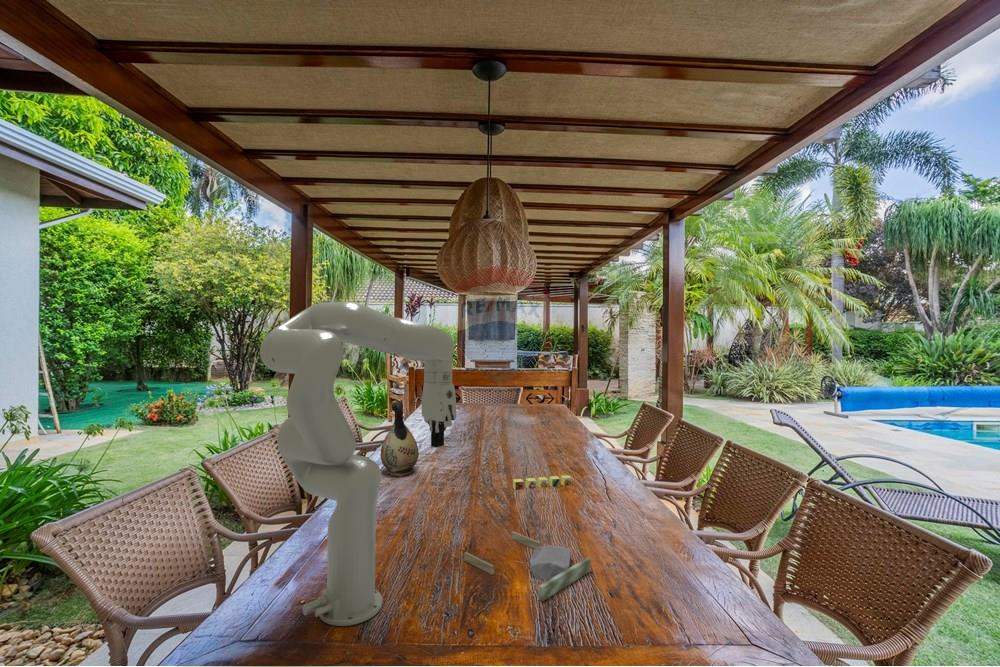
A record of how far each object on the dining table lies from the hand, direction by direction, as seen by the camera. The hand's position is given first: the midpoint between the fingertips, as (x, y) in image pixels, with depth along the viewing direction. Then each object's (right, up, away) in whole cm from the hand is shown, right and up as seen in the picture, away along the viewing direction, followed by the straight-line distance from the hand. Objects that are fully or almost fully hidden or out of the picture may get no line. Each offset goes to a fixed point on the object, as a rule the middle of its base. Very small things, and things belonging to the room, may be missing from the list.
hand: (437, 446), depth 125 cm
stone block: (+29, -28, -11) cm, 42 cm away
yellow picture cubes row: (+34, -29, +50) cm, 67 cm away
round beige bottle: (-24, -27, +65) cm, 75 cm away
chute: (+23, -27, -9) cm, 37 cm away
